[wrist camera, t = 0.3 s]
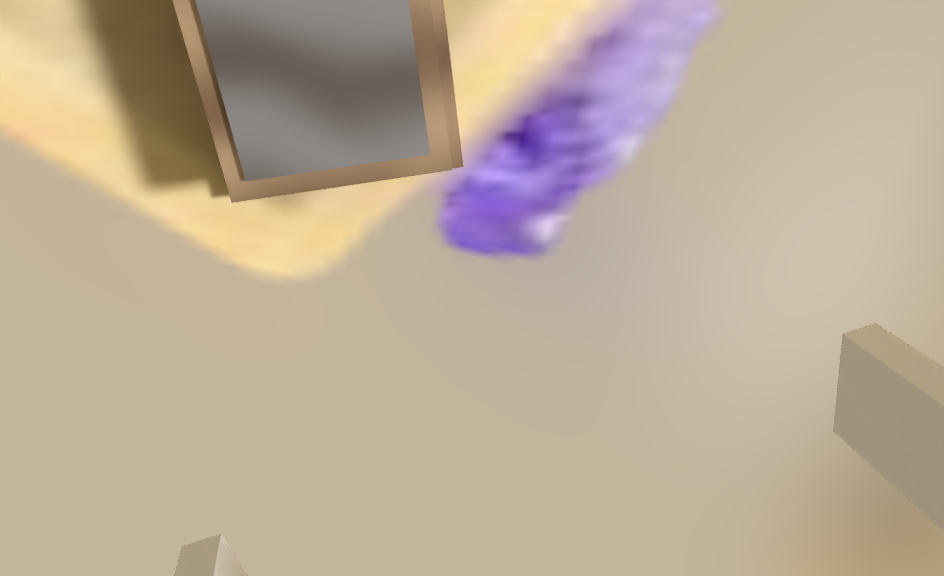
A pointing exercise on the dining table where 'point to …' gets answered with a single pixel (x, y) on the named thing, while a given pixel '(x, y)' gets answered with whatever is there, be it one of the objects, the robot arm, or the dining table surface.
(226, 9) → the walnut plinth
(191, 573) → the robot arm
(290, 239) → the dining table surface
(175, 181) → the dining table surface
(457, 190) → the dining table surface
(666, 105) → the dining table surface
